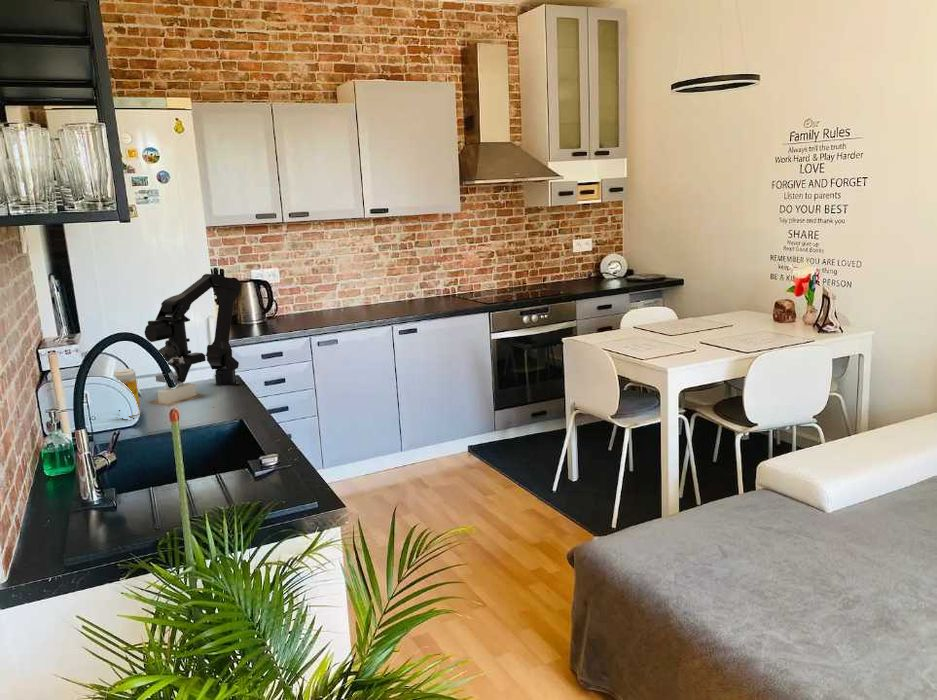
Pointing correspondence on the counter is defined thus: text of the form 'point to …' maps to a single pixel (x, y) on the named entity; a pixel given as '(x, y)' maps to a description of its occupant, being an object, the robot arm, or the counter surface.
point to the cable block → (176, 393)
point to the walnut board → (175, 401)
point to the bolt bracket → (177, 384)
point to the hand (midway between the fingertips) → (182, 382)
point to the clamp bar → (161, 379)
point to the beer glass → (128, 381)
